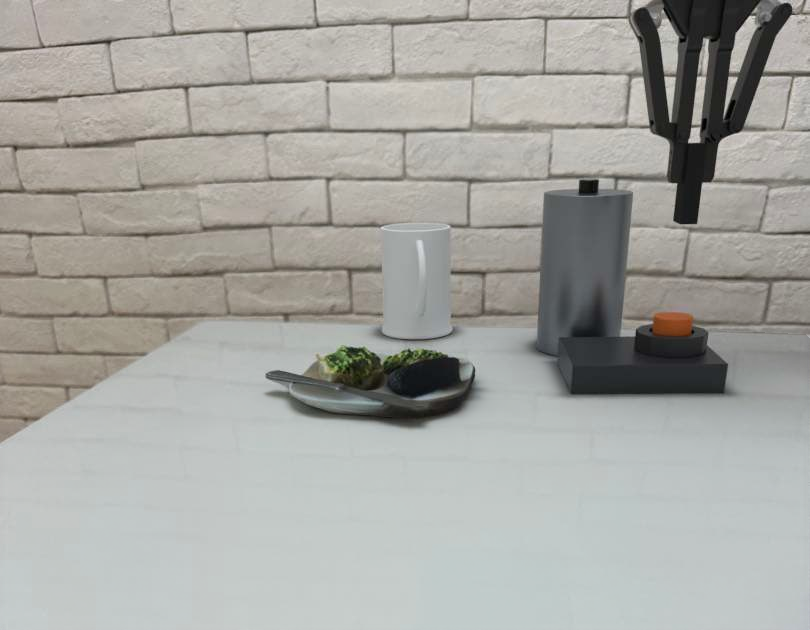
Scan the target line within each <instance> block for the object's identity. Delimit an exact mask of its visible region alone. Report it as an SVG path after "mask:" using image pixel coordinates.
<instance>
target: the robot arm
mask: <svg viewBox="0 0 810 630" xmlns="http://www.w3.org/2000/svg"><path fill="white" fill-rule="evenodd" d="M755 9H756V15H755V17H754V21H753V22H754V25H755V26H756V29H755V30H754V32H753V34H752V36H751V39H750V41H749V43H748V46H747V50H746V53H745V55H744V58H743V61H742V65H741V67H740V70H739V72H738V75H737V78H736V80H735V84H734V88H733V90H732V92H731V95H730V99H729V102H728V104H727V108H726V101H727V100H726V99H727V92H728V86H729V85H728V84H729V76H730V68H731V61H732V53H733V50H734V47H735V42H736V36H737V35H736V34H737V33H738V32H739V30H740V29H741V28H742V27H743V26H744V24H745V23H746V21H747V20H748V19H749V17H750V16H751V14H753V12H754V11H755ZM662 11H663V12H664V14H665V16H666V18H667V19H668V21H669V23H670V25H671V27H672V29H673V30H674V31H673V32H675V34H676V36H677V37H678V41H677V49H676V50H677V62H676V72H675V82H674V89H673V90H674V91H673V101H672V109H671V119H670V113H669V104H668V95H667V86H666V80H665V79H666V78H665V70H664V63H663V61H664V60H663V53H662V45H661V38H660V34H659V28H660V27H661V25H662V22H663V19H662ZM792 14H793V5H792V4H791V3H789V2H783V3H782V2H780V1H779V0H650V1H648V2H647V3H646V4H644V5H643V6H641V7H639V8H637V9H635V10H633V11H632V12H631V13H630V14H629V15H628V25H630V28H631V30H632V32H633V34H634V35H635V38H636V40H637V42H638V47H639V54H640V62H641V70H642V79H643V86H644V94H645V101H646V109H647V116H648V117H647V118H648V125H649V131H650V133H651V134H652V135H654V136H657V137H660V138H662V139H665V140H666V141H667V142H668V144H669V151H668V159H667V160H668V162H667V170H666V180H667V182H668V183H670V184H676V190H675V200H674V209H673V217H672V218H673V219H672V222H674V223H677V224H678V225H698V221H699V212H700V204H701V197H702V196H701V195H702V188H703V187H702V186H703V183H712V182H713V179H714V177H715V173H716V165H717V157H718V152H719V151H718V150H719V144H720V143H721V141H723V139H725V138H728V137H730V136H733V135H735V134H739V133H741V132H742V130H743V129H744V127H745V124H746V121H747V119H748V115H749V113H750V110H751V107H752V105H753V102H754V99H755V96H756V93H757V90H758V88H759V85H760V82H761V80H762V76H763V74H764V71H765V68H766V65H767V62H768V59H769V57H770V54H771V51H772V48H773V46H774V43H775V40H776V37H777V35H778V34H779V33H780V31H781V30H782V29H783V27H784V26H785V24H786V23H787V22H788V21H789V20H790V18H791V16H792ZM704 39H705V40H708V44H707V53H708V57H707V58H708V59H707V65H706V75H705V82H704V83H705V85H704V93H703V101H702V109H701V111H702V112H701V117H700V118H701V119H700V127H699V138H700V140H699V142H689V141H690V138H691V135H692V125H693V119H694V118H693V116H694V107H695V100H696V92H697V84H698V83H697V82H698V75H699V65H700V55H701V52H702V49H703V43H704ZM725 108H726V110H725Z"/></svg>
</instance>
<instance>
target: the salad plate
mask: <svg viewBox="0 0 810 630" xmlns="http://www.w3.org/2000/svg"><path fill="white" fill-rule="evenodd" d="M315 356H316V359H317V360H316V361H314V362H312V363H311V364H310V365H309V367H308V368H306V370H305V371H304V372H302V374H298V373H293V372H289V371H285V370H280V369H276V370H275V369H274V370H270V371H267V372H266V373H265V379H267V381H271V382H273V383H276V384H279V385H281V386H283V387H285V388H287V389H288V393H289V395H290V396H292V397H294V399H297V400H299V401H300V402H301V403H304V404H306V405H309V406H312V407H314V408H317V409H319V410H323V411H325V412H329V413H333V414H342V415H357V416H371V417H383V418H403V419H404V418H406V419H407V418H409V419H410V418H412V419H413V418H426V417H427V418H428V417H433V416H438V415H441V414H444V413H449V412H451V411H453V410H455V409H457V408H459V407H460V406H461V405H462V403H463V402H464V401H465V399H466V398H467V396H468V395H469V393H470V390H471V387H472V385H473V382H474V381H475V378H476V368H475V366H474V364H473V363H472V362H471V361H470V360H468V359H466V358H463V357H460V356H455V355H451V354H445V353H443V352H441V351H438V352H437V351H436V350H435V349H434V350H433V349H424V348H421V347H420V348H419V347H417V348H416V349H414V350H411V349H410V347H408V348H407V349H404V350H401V352H399V353H395V354H387V353H385V354H384V353H375V352H373V351H370V350H369V349H368V348H366V346H362V347H360V346H359V347H354V346H346V345H341V346H340V347H339V348H337V349H336V350H335V352H333V353H326V354H324V356H323V357H322V356H320V354H319V353H316V355H315Z"/></svg>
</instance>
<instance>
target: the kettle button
mask: <svg viewBox="0 0 810 630" xmlns="http://www.w3.org/2000/svg"><path fill="white" fill-rule="evenodd" d="M652 324H653V329H652V333H655V334H659V335H668V336H685V335H691V332H692V326H693V324H694V316H693V315H692V314H690V313H686V312H678V311H663V312H658V313H655V314H654V315H653V321H652Z"/></svg>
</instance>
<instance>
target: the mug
mask: <svg viewBox="0 0 810 630" xmlns="http://www.w3.org/2000/svg"><path fill="white" fill-rule="evenodd" d="M451 229H452V227H451V225H450V224H448V223H447V224H446V223H441V222H439V223H438V222H400V223H392V224H391V223H390V224H386V225H383V226H381V227H380V251H381V252H380V254H381V256H380V258H381V283H382V285H381V287H382V325H381V333H382V334H383V335H385V336H387V337H388V338H393V339H394V338H395V339H399V340H428V339H429V340H430V339H437V338H442V337H445V336H447V335H450V334H451V333H452V332H453V326H452V315H451V312H452V311H451V280H452V279H451V278H452V277H451V273H452V272H451V269H452V268H451V267H452V265H451V264H452V263H451V262H452V261H451V259H452V258H451V255H452V254H451V253H452V252H451V250H452V249H451V246H452V245H451V244H452V243H451V241H452V237H451V235H452V233H451V232H452V230H451Z"/></svg>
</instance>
